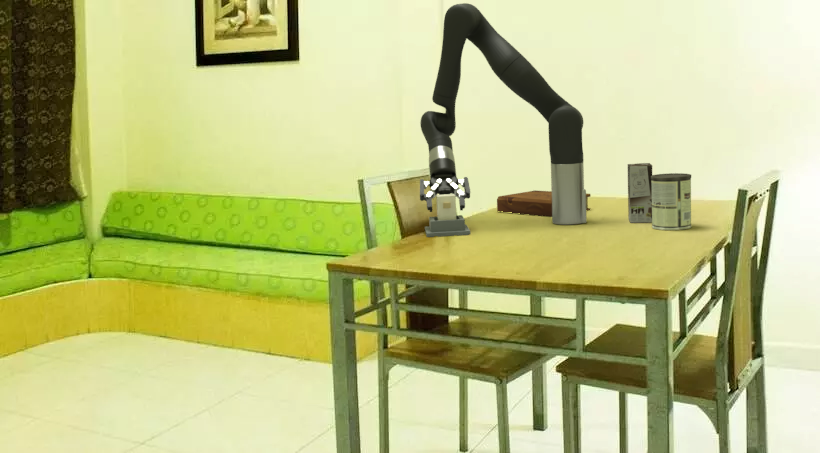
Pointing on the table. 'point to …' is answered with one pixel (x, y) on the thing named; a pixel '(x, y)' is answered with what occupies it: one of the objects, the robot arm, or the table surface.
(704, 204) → the table surface
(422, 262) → the table surface
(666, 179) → the coffee can
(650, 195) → the coffee box
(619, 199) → the table surface
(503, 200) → the diary
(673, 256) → the table surface
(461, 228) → the grey stepped pedestal
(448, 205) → the cream block
